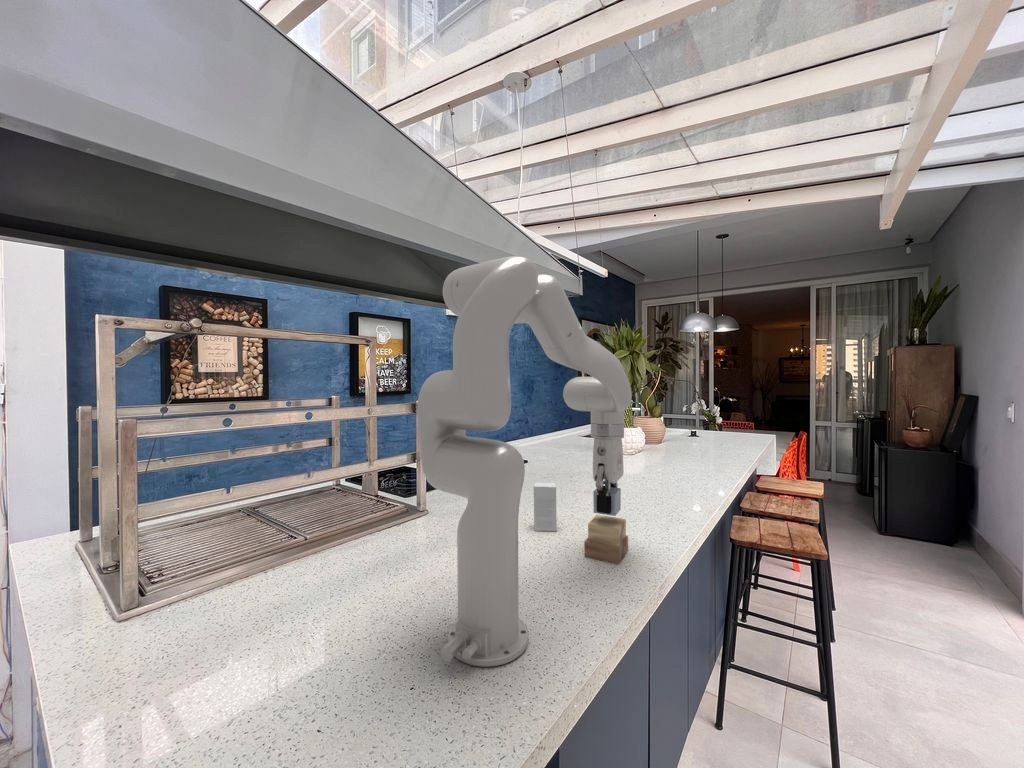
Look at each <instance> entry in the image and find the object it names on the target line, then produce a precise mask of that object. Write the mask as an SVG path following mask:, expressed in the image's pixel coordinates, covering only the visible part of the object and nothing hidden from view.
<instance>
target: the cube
mask: <svg viewBox="0 0 1024 768" xmlns="http://www.w3.org/2000/svg"><path fill="white" fill-rule="evenodd" d="M604 486H605V485H604ZM605 487H606V486H605ZM606 489H607V487H606ZM596 492H597V488H596V489H595V488H594V490H593V499H592V500H593V514H598V515H604V516H611V517H616V516H617V515H618V514H619V512H620V511H621V506H622V503H621V501H622V499H621V498H622V497H621V495H622V492H621V487H617V488H614V487H610V496H611V513H610V514H607V513H600V512H597V494H596Z"/></svg>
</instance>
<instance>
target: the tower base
mask: <svg viewBox="0 0 1024 768" xmlns="http://www.w3.org/2000/svg"><path fill="white" fill-rule="evenodd" d="M583 548H584V550H583V551H584V558H587V559H590V560H591V559H592V560H597V561H601V562H606V563H610V564H615V565H618V566H619V565H621V563H622V561H623V559H624V558H625V556H626V555H627V553H628V552H629V535H627V534H626V536H625V538H624V540H623V541H622V543H621V544H620V546H619V547H617V546H612V545H606V544H601V543H595V542H590V541H588V537H587V538H586V539H585V540H584V547H583Z"/></svg>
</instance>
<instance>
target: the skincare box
mask: <svg viewBox="0 0 1024 768" xmlns="http://www.w3.org/2000/svg"><path fill="white" fill-rule="evenodd" d="M557 521H558V520H557V483H556V482H534V484H533V524H534V525H533V529H534V531H535V532H557V524H558V523H557Z"/></svg>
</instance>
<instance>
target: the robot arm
mask: <svg viewBox="0 0 1024 768" xmlns="http://www.w3.org/2000/svg"><path fill="white" fill-rule="evenodd" d="M442 297H443V301H444V303H445V306H446V307H447V308H448V309H449V311H450V312H451V313H453V314H454V315H455V316H456V317H458V318H457V320H456V323H455V326H454V329H453V335H452V369H445V370H439V371H436V372H434V373H433V374H431V375H430V376H429V377H428V378H426V379H425V381H424V383H423V384H422V385H421V387H420V391H419V394H418V400H417V421H418V424H417V425H418V436H419V438H418V439H419V448H420V460H421V461H420V462H421V467H422V472H423V474H424V478H425V480H426V481H427V483H428V484H429V485H430V486H432V487H433V488H434V489H436V490H438V491H441V492H445V493H448V494H452V495H455V496H459V497H462V498H464V499H467V504H466V506H465V509H464V510H463V513H462V515H461V517H460V519H459V521H458V525H457V530H456V531H457V532H456V545H457V546H456V549H457V551H456V552H457V553H456V554H457V557H456V559H457V565H456V566H457V567H456V568H457V574H456V577H457V621H455V622H454V623H453V625H452V626H451V627H450V628H449V631H448V634H447V643H446V644H445V645H444V646H443V647H442V648H441V650H440V655H441V657H442V659H443V660H444V661H445V662H450V661H452V660H453V659H454V657H455V658H456V659H457V660H458V661H461V662H462V663H465V664H467V665H471V666H476V667H497V666H502V665H505V664H507V663H510V662H512V661H514V660H515V659H517V658H519V657H520V656H521V655H522V654H523V653H524V652H525V650H526V649H527V646H528V644H529V630H528V627H527V626H526V624H525V623H524V621H523V620H521V619H520V618H519V617H520V616H519V610H520V605H519V513H520V512H519V511H520V503H521V502H520V501H521V497H522V490H523V487H524V483H525V482H524V481H525V473H526V472H525V471H526V469H525V467H526V465H525V461H524V458H523V456H522V455H521V452H520V451H519V450H518V449H517V448H516V447H514V446H513V445H511V444H509V443H507V442H504V441H502V440H498V439H491V438H484V437H478V436H468V435H466V433H467V432H466V431H473V432H493V431H498V430H500V429H502V428H504V426H506V424H507V423H508V422H509V420H510V416H511V411H512V392H511V391H512V389H511V372H510V356H509V355H510V336H511V333H512V329H513V327H514V325H517V324H526V325H528V326H529V328H531V330H532V332H533V334H534V336H535V337H536V339H537V341H538V343H539V344H540V346H541V348H542V350H543V352H544V353H545V355H546V356H547V357H548V359H549V360H551V361H553V362H555V363H556V364H558V365H562V366H565V367H566V368H570V369H573V370H576V371H579V372H582V373H584V374H587V375H589V376H577V377H573V378H572V379H570V380H568V381H567V382H566V384H565V385H564V387H563V391H562V397H563V400H564V403H565V404H566V405H567V407H568V408H570V409H571V410H575V411H579V412H590V438H593V439H594V440H593V446H592V447H593V449H592V450H593V451H592V452H593V453H592V477H593V478H592V479H593V480H594V481H595V487H596V488H597V492H596V494H597V512H600V513H607V514H610V513H611V496H610V487H614V488H619V487H618V485H619V484H618V481H619V480H620V479H621V478H622V477H623V476H624V472H625V471H624V452H623V451H624V448H623V439H624V438H625V410H627V409H628V408H629V406H630V404H631V402H632V396H633V395H632V387H631V383H630V380H629V378H628V376H627V372H626V371H625V369H624V366H623V364H622V362H621V361H620V360H619V358H617V356H615V354H613V353H612V352H611V351H610V350H609V349H607V348H606V347H605V346H603V345H602V344H601V343H599V342H597V341H596V340H595V339H592V338H591V337H589V336H587V335H586V333H585V331H584V330H583V327H582V326H581V323H580V321H579V319H578V317H577V315H576V313H575V310H574V308H573V307H572V304H571V302H570V300H569V298H568V295H567V294H566V292H565V290H564V287H563V286H562V284H561V282H560V281H559V280H558V279H557V278H556V277H555V276H553V275H550V274H546V273H545V274H543V273H540V274H539V273H538V269H537V266H536V264H535V263H534V261H532V260H531V259H529V258H527V257H525V256H515V255H514V256H506V257H500V258H496V259H491V260H486V261H484V262H483V261H482V262H479V263H475V264H471V265H467V266H463V267H459V268H457V269H455V270H453V271H451V272H450V273H449V274H448V275H447V276H446V278H445V280H444V282H443V286H442ZM605 486H606V487H607V489H606V487H605Z"/></svg>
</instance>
